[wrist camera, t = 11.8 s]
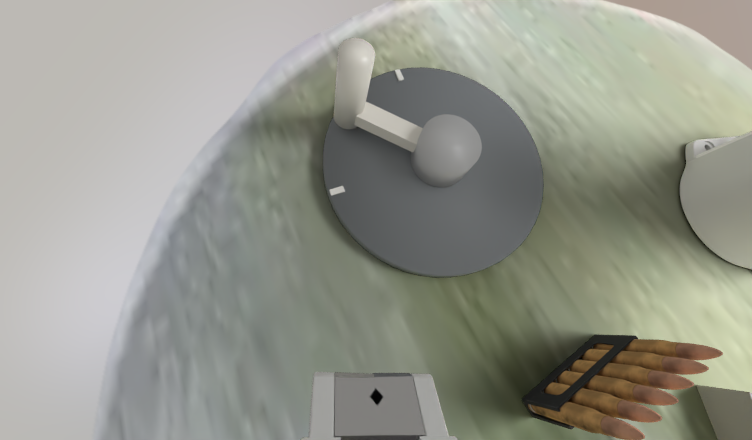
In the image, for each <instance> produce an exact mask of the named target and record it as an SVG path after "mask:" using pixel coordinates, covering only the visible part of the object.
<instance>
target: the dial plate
mask: <svg viewBox="0 0 752 440" xmlns="http://www.w3.org/2000/svg"><path fill="white" fill-rule="evenodd" d="M366 102H368V103H370V104H373V105H375V106H377V107H379V108H381V109H383V110H385V111H387V112H389V113H392V114H394V115H396V116H398V117H400V118H402V119H404V120H406V121H409V122H411V123H413V124H415V125H417V126H419V127H421V128H423V127H424V126H425V124H426V123H427V122H428V121H429V120H430V119H432V118H433V117H435V116H438V115H443V114H450V115H455V116H459V117H461V118H463V119H465V120H466V121H468V122H469V123H470V124H472V125H473V127H474V128H475V129H476V130H477V132H478V134H479V136H480V139H481V143H482V150H481V155H480V157H479V159H478V160H477V162H476V163H475V164H474V165H473V166H472V167H471V168H470V169H469V171H468V172H467V173H466V174H465V175H464V176H463V177H462V178H461V179H460V180H459V181H458V182H457V183H456V184H454V185H452V186H449V187H434V186H431V185H429V184H427V183H425V182H424V181H422V180H421V179H420V178H419V177H418V176H417V175H416V173H415V172H414V170H413V168H412V165H411V151H409V150H406V149H404V148H402V147H400V146H398V145H396V144H394V143H392V142H389V141H387V140H385V139H383V138H381V137H379V136H377V135H375V134H372V133H370V132H368V131H366V130H364V129H362V128H360V127H357V128H354V129H344V128H341V127H340V126H338V125H337V124H336V122H335V120H334V115H333V118H332V120H331V122H330V124H329V127H328V131H327V134H326V137H325V143H324V149H323V175H324V182H325V187H326V191H327V194H328V198H329V200H330V203H331V205H332V207H333V209H334V212H335V214H336V215H337V217H338V219H339V220H340V222H341V223H342V225H343V226H344V228H345V229H346V230H347V231H348V233H349V234H350V235H351V236H352V238H353V239H354V240H355V241H357V242H358V243H359V244H360V245H361V246H362V247H363V248H364V249H365V250H366V251H368V252H369V253H371V254H372V255H373V256H375V257H376V258H377V259H379V260H381V261H383V262H385V263H386V264H388V265H390V266H392V267H395V268H397V269H400V270H402V271H405V272H408V273H412V274H416V275H420V276H427V277H435V278H444V277H457V276H463V275H468V274H471V273H474V272H478V271H481V270H483V269H486V268H488V267H490V266H492V265H494V264H496V263H498V262H500V261H501V260H503V259H504V258H506V257H507V256H509V255H510V254H511V253H512V252H514V251H515V250H516V249H517V248H518V247H519V246H520V245H521V244H522V242H523V241H524V240H525V239H526V237H527V236H528V235H529V233H530V231H531V230H532V228H533V226H534V224H535V222H536V220H537V217H538V214H539V212H540V208H541V203H542V199H543V187H544V184H543V171H542V165H541V160H540V157H539V154H538V151H537V147H536V145H535V143H534V141H533V139H532V136H531V134H530V133H529V131H528V129H527V128H526V126H525V124H524V123H523V122H522V120H521V119H520V118H519V116H518V115H517V114H516V113H515V111H514V110H513V109H512V108H511V107H510V106H509V105H508V104H507V103H506V102H505V101H503V100H502V99H501V98H500V97H499V96H498V95H496V94H495V93H494V92H492V91H491V90H489V89H488V88H486V87H485V86H483V85H481V84H479V83H478V82H476V81H474V80H472V79H469V78H467V77H465V76H462V75H459V74H456V73H453V72H450V71H445V70H440V69H434V68H406V69H397V70H394V71H391V72H387V73H384V74H381V75H379V76H377V77H374V78H372V79H371V80H370V84H369V89H368V94H367V99H366Z"/></svg>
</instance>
